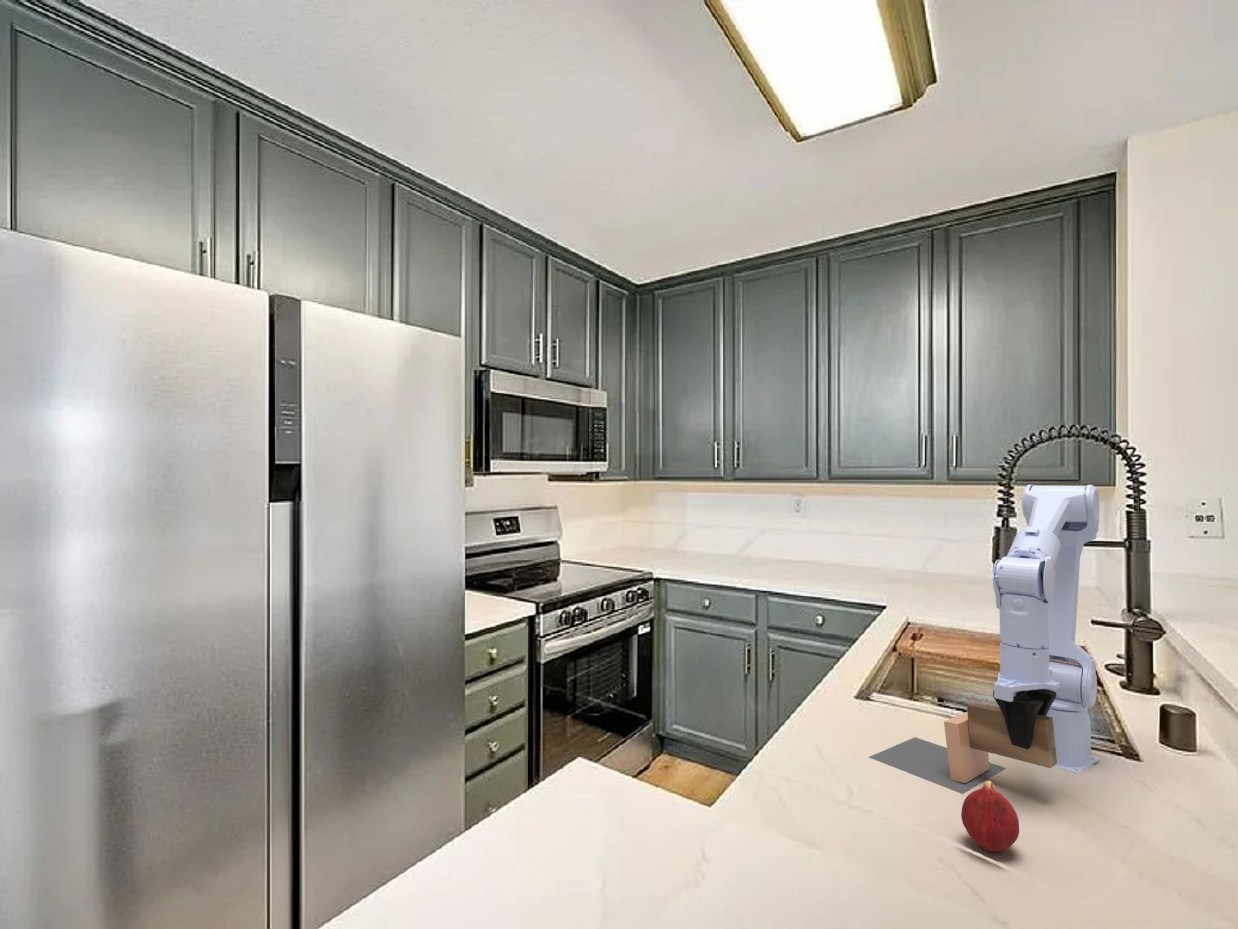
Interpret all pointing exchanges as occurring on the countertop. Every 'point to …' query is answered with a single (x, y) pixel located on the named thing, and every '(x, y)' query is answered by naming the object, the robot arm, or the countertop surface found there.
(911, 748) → the mat
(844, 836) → the countertop surface
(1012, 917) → the countertop surface
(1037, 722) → the wooden plank piece
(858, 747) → the countertop surface
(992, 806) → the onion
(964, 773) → the tile
